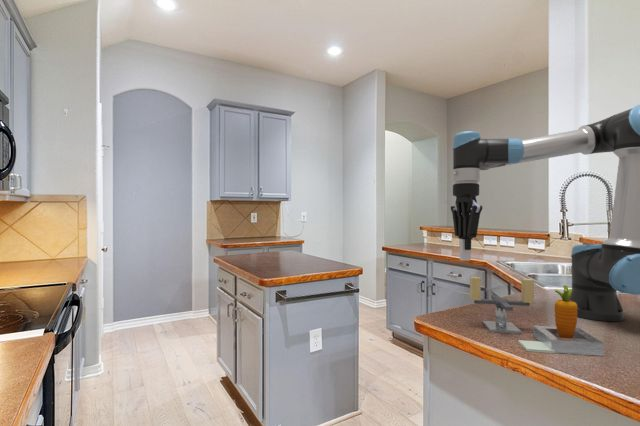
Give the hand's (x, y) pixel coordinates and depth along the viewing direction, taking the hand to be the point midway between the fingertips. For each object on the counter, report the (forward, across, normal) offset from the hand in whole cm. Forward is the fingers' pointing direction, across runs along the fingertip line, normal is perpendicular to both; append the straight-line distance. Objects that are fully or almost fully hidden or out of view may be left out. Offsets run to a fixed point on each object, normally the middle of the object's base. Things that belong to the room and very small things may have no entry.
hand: (465, 260), depth 108 cm
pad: (+19, +22, +5) cm, 29 cm away
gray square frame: (+19, +22, +14) cm, 32 cm away
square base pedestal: (+19, +7, +7) cm, 21 cm away
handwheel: (+12, +7, +7) cm, 16 cm away
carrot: (+19, +22, +14) cm, 32 cm away
